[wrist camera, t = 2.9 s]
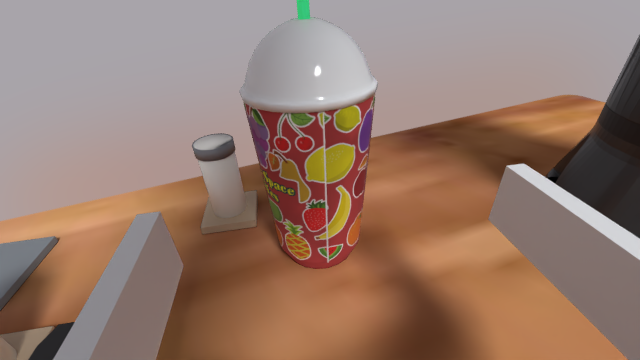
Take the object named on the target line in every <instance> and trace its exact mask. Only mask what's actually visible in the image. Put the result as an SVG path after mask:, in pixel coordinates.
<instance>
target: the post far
mask: <svg viewBox="0 0 640 360" xmlns="http://www.w3.org/2000/svg"><path fill="white" fill-rule="evenodd" d="M192 147H193V150H194V154H195V156H196V158H197V159H198V162H199V165H200V168H201V172H202V175H203V178H204V181H205V185H206V188H207V191H208V194H209V198H208V201H207V205H206V209H205V212H204V216H203V220H202V223H201V227H200V228H201V231H202V234H208V233H215V232H222V231H229V230H236V229H243V228H250V227H257V206H258V195H257V190H255V191H247V192H244V189H243V185H242V181H241V176H240V172H239V168H238V164H237V159H236V155H235V146H234V141H233V137H232V136H230V135H228V134H211V135H207V136H204V137H201V138H199V139H197V140H196V141H194V142H193V144H192Z"/></svg>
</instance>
